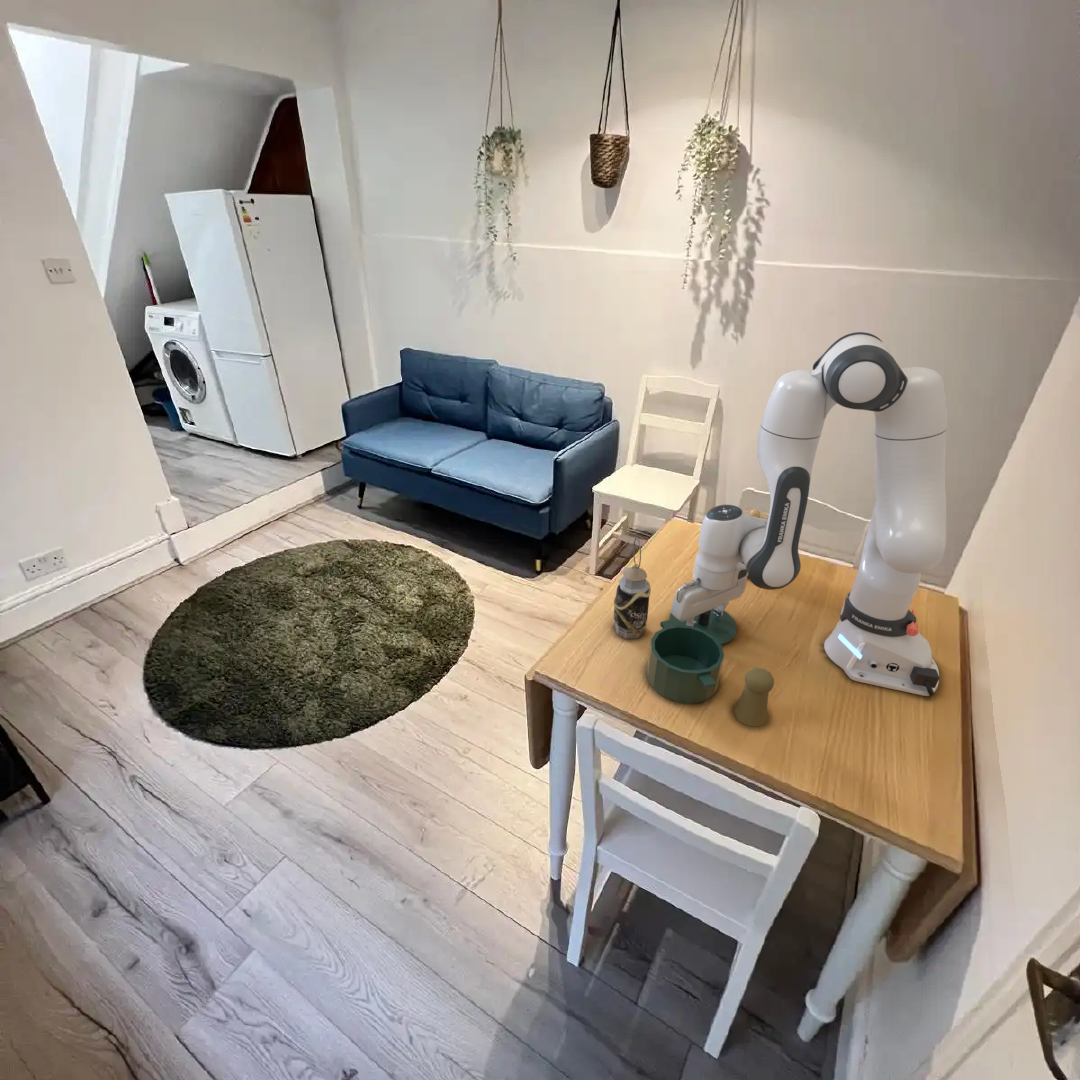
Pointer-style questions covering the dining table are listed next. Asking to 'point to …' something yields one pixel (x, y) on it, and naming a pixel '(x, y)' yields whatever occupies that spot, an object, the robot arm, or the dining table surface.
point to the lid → (713, 625)
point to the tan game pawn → (754, 697)
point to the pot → (684, 663)
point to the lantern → (632, 601)
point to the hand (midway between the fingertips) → (704, 621)
